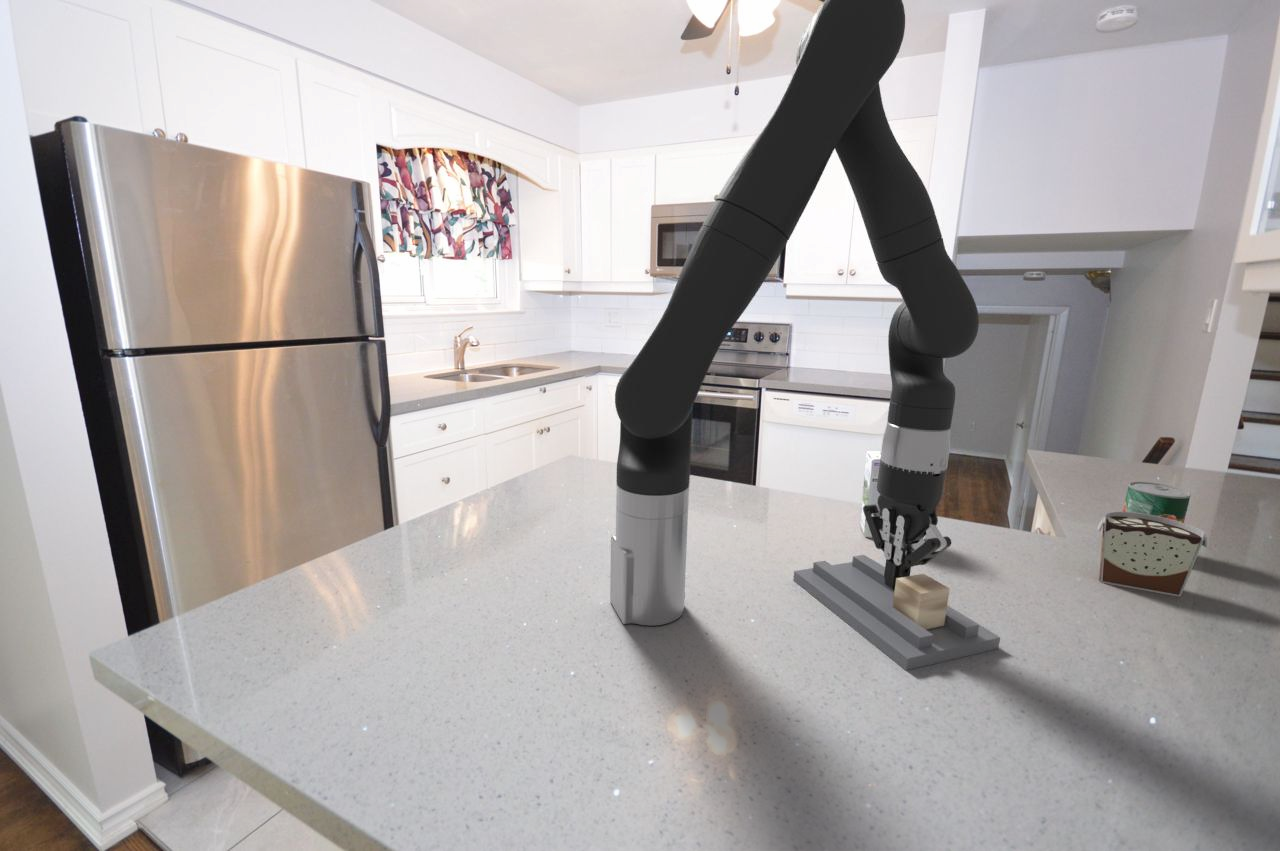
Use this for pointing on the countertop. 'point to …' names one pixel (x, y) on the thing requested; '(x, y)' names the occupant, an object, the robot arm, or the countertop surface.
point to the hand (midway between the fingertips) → (895, 587)
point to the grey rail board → (890, 615)
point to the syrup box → (870, 487)
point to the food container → (1148, 552)
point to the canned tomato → (1157, 500)
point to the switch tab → (921, 600)
